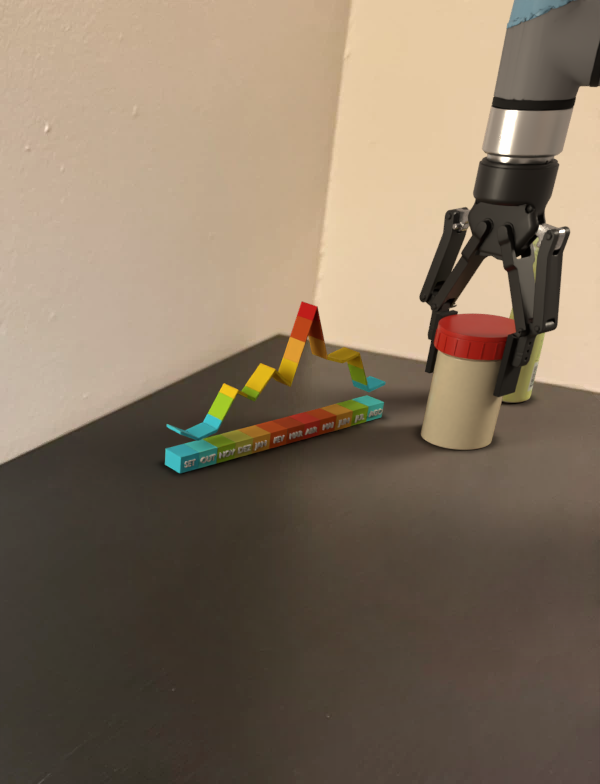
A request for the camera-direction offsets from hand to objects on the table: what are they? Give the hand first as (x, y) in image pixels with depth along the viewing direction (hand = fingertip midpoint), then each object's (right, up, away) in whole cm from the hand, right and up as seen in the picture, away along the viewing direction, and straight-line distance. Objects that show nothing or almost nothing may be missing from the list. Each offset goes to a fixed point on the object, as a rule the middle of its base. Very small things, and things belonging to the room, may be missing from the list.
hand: (468, 381), depth 112 cm
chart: (-21, -6, +5) cm, 22 cm away
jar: (0, -5, +4) cm, 6 cm away
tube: (+11, +3, +14) cm, 18 cm away
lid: (0, +5, -3) cm, 6 cm away
